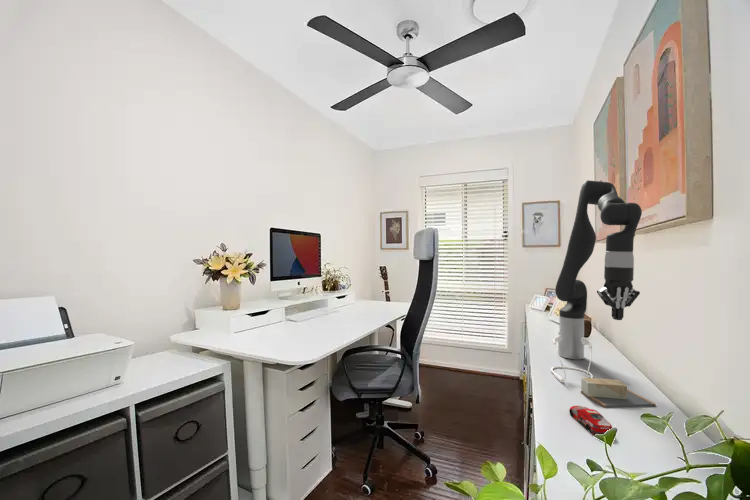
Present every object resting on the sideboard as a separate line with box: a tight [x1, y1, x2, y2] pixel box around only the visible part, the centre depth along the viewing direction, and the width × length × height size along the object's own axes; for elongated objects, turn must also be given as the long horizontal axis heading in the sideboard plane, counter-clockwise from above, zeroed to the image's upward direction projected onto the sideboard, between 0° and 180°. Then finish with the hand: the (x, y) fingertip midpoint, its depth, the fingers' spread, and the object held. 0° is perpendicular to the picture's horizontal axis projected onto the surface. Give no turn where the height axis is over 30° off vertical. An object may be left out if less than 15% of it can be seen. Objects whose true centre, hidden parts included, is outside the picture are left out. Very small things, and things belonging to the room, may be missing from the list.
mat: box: [580, 389, 656, 408], centre depth 103 cm, size 10×16×1 cm, turn 93°
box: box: [580, 376, 628, 400], centre depth 105 cm, size 5×4×11 cm
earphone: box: [550, 334, 594, 384], centre depth 122 cm, size 14×17×18 cm
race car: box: [568, 405, 613, 435], centre depth 88 cm, size 13×5×4 cm, turn 177°
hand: (617, 319), depth 107 cm, fingers closed
